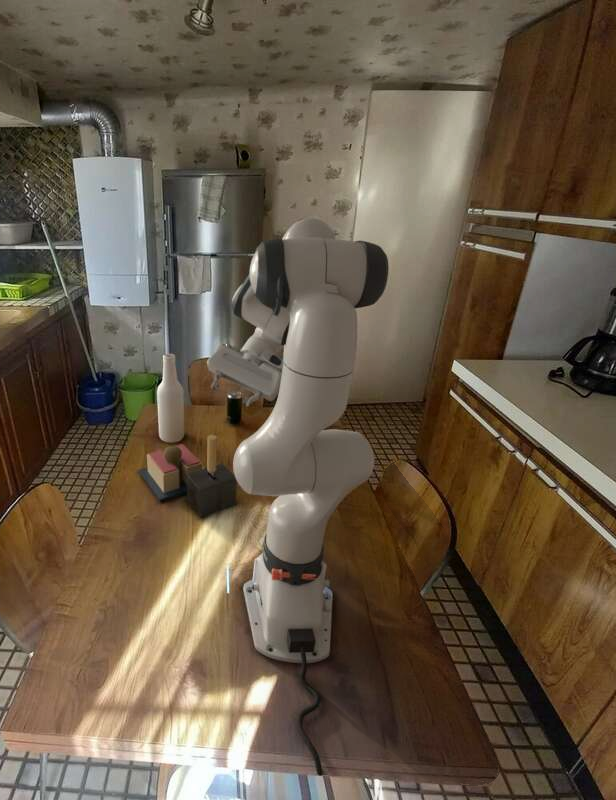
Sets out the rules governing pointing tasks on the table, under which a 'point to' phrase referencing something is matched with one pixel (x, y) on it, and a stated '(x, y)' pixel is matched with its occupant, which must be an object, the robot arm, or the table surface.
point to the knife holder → (211, 490)
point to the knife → (212, 455)
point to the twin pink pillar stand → (169, 473)
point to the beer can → (234, 407)
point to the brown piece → (174, 458)
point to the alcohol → (170, 403)
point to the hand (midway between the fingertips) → (229, 396)
